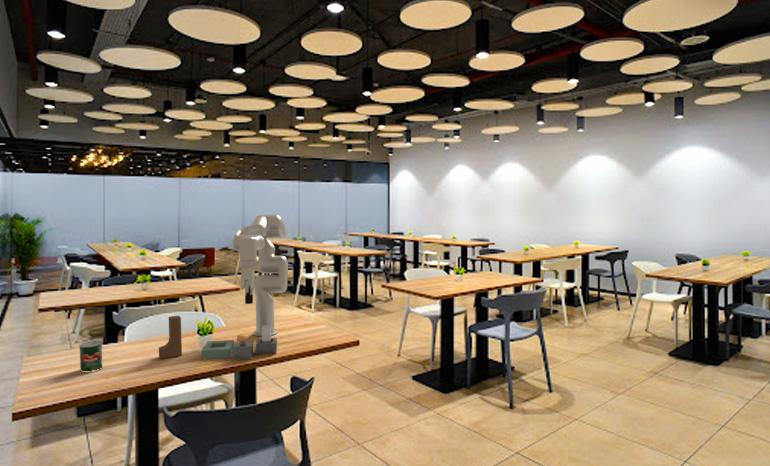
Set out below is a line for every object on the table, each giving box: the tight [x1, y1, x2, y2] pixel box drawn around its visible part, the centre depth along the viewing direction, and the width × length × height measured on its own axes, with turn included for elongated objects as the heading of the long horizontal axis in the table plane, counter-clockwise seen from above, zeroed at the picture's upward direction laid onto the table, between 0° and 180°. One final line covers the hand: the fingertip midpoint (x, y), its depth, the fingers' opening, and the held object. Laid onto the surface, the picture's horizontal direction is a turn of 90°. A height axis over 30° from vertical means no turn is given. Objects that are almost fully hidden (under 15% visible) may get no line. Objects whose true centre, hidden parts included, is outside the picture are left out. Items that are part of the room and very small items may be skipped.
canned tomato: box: [79, 340, 103, 371], centre depth 193 cm, size 8×8×11 cm
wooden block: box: [158, 315, 183, 360], centre depth 209 cm, size 9×4×18 cm, turn 125°
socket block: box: [255, 337, 278, 356], centre depth 216 cm, size 9×9×5 cm
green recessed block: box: [201, 339, 235, 360], centre depth 213 cm, size 14×12×4 cm
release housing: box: [232, 340, 254, 361], centre depth 209 cm, size 8×8×6 cm
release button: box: [236, 333, 250, 345], centre depth 208 cm, size 5×5×9 cm
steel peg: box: [261, 325, 272, 343], centre depth 216 cm, size 4×4×12 cm
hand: (249, 303), depth 209 cm, fingers closed
